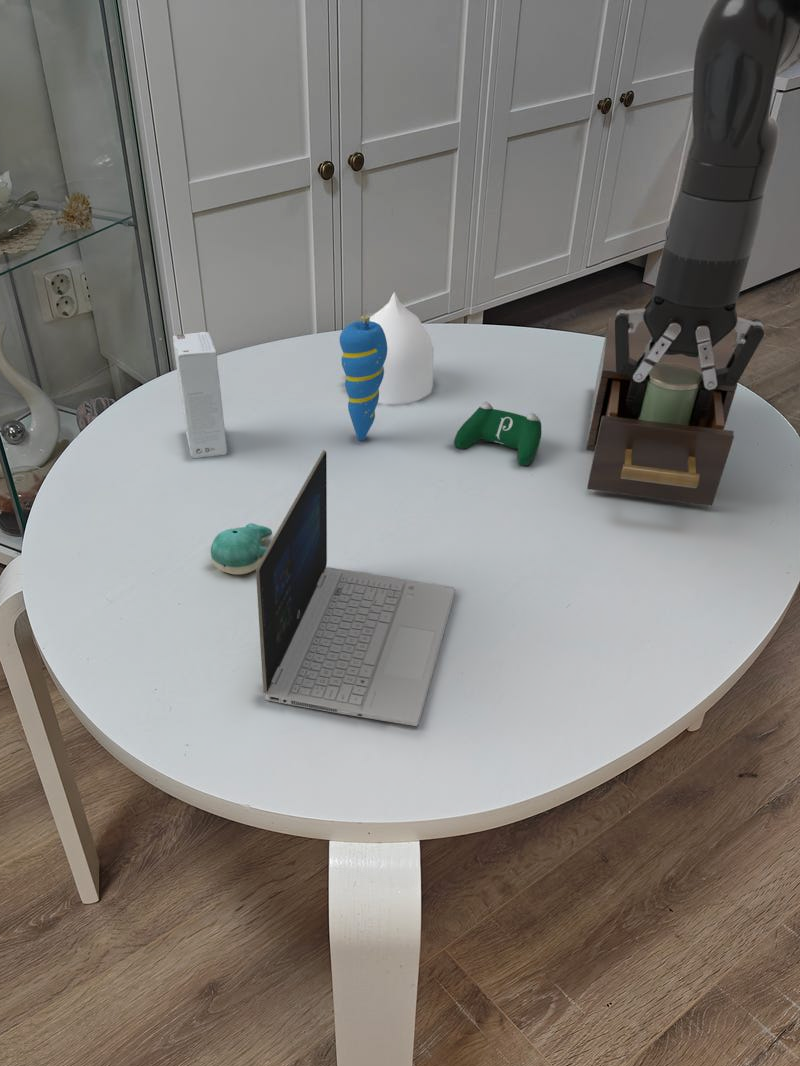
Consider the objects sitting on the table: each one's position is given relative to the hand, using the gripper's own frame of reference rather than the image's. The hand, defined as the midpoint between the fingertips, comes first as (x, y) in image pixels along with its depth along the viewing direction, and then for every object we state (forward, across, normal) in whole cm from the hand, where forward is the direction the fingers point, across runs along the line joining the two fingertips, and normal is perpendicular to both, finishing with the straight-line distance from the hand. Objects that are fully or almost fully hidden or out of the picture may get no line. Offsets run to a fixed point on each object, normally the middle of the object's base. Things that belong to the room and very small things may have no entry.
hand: (664, 415), depth 93 cm
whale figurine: (+7, -37, -26) cm, 46 cm away
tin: (0, 0, 0) cm, 0 cm away
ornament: (+7, -32, 0) cm, 33 cm away
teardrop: (+7, -32, +15) cm, 36 cm away
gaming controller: (+7, -16, +2) cm, 18 cm away
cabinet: (+7, 0, +12) cm, 14 cm away
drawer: (+6, 0, -1) cm, 6 cm away
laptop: (+7, -23, -35) cm, 43 cm away
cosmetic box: (+7, -49, -6) cm, 50 cm away
